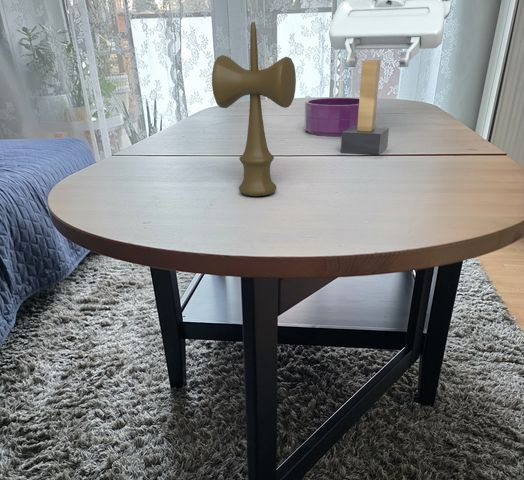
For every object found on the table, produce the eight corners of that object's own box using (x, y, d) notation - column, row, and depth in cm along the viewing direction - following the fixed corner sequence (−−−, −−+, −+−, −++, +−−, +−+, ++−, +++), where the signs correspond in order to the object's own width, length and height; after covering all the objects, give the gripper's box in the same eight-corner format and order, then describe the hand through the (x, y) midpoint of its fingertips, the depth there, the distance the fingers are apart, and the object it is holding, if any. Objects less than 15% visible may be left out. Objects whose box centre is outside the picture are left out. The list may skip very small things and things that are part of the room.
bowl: (361, 125, 119) (363, 96, 115) (376, 135, 107) (379, 104, 103) (300, 127, 118) (301, 98, 115) (309, 138, 106) (310, 106, 103)
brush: (350, 145, 98) (356, 59, 90) (387, 147, 95) (396, 59, 88) (340, 152, 93) (345, 61, 85) (378, 155, 90) (387, 61, 82)
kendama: (235, 185, 74) (226, 23, 63) (297, 190, 71) (300, 20, 60) (216, 196, 69) (204, 22, 59) (283, 202, 66) (282, 20, 56)
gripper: (452, 12, 92) (436, 78, 89) (343, 16, 99) (325, 77, 96) (454, -20, 86) (437, 49, 83) (337, -13, 93) (319, 51, 91)
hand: (376, 64), depth 90 cm, fingers open, 8 cm apart
